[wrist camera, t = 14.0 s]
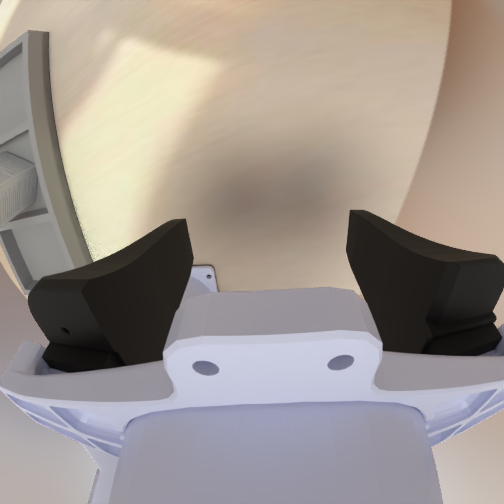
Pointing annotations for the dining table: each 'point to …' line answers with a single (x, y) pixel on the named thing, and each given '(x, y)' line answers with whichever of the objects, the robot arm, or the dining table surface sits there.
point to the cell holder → (47, 165)
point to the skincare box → (15, 186)
